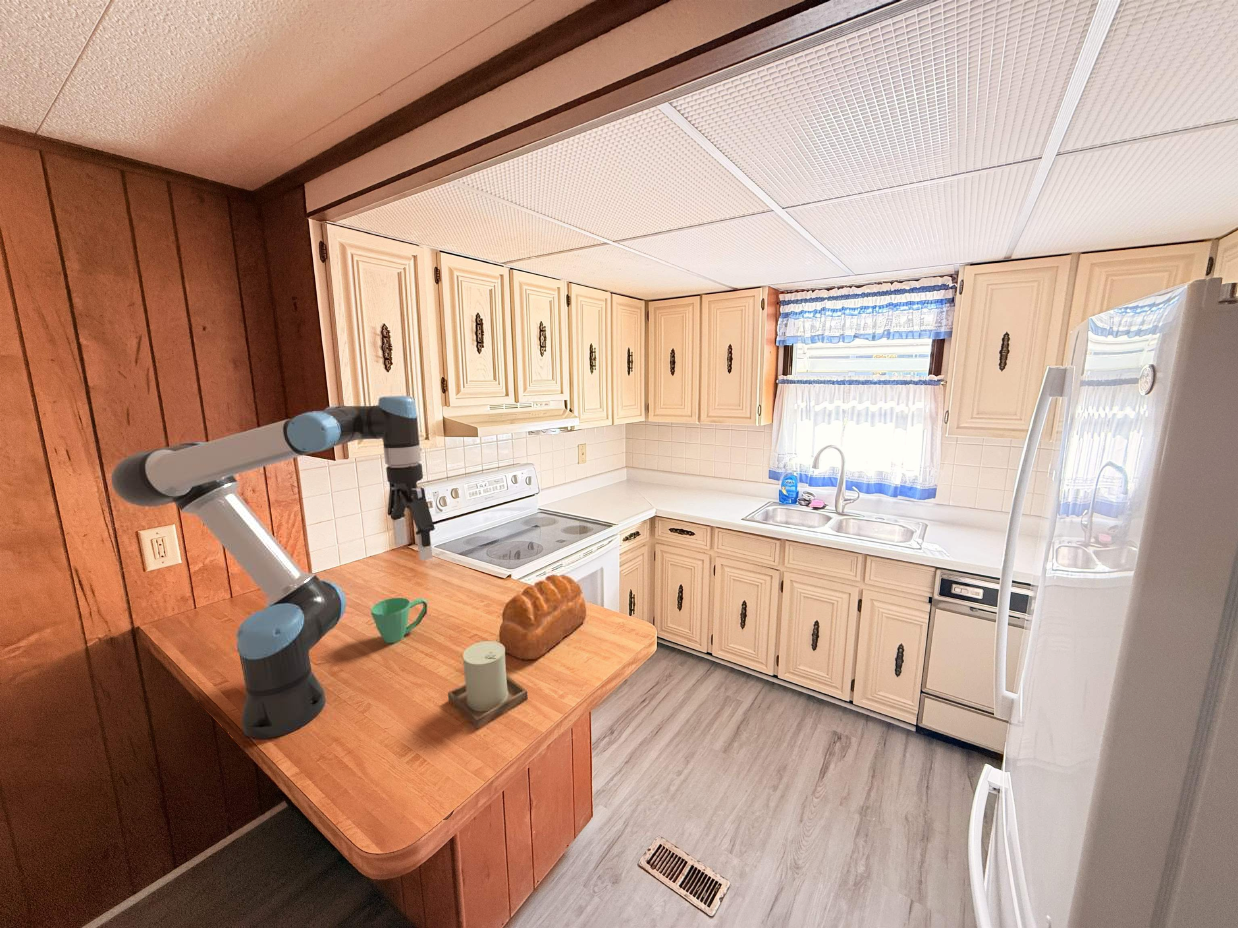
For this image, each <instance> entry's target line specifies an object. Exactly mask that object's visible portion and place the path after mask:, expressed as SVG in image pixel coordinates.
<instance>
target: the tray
mask: <svg viewBox="0 0 1238 928" xmlns="http://www.w3.org/2000/svg"><path fill="white" fill-rule="evenodd" d="M506 680H507V690H508V697H507V700H506V701H505V702H503V703H502V704H500V705H498V706H497V707H495V708H493V709H491V710H490V711H484V712H479V711H474V710H472V709H470V708H469V707H468V706H467V703H466V699H467V694H466V683H464V684H463V685H460V686H458V687H456V688H455V689H453V690H451V691H449V692H447V697H448V698H447V700H448V702H449V703H450V704H452V706H453V707H454V708H455V709H456V710H457V711H458V712H460V714H462V716H463V717H465V718H466V720H468V722H470V723H471V724H472V725H473V726H474V727H475V728H476V729H478V730H479V728H482V727H484V726H485V725H486V724H489V723H490V722H492V721H493V720H495V719H496V718H498V717H500V716H502V715H504V714H505V713H507V712H508V711H510V710H511V709H513V708H515V707H518V705H520V704H522V703H523V702H525V701H527V700H528V690H527V689H526V688H524V687H523V686H522V685H520V684H519V683H518V682H516V681H515V680H514V679H512V677H511V676H508V674H506Z"/></svg>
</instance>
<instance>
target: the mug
mask: <svg viewBox="0 0 1238 928" xmlns="http://www.w3.org/2000/svg"><path fill="white" fill-rule="evenodd" d="M420 604H422V609H421V611H420V612H419V614H418V616H417V617H416V619H415V620H414V621H413V622H411V623H410V624H409V625H408V623H409V618H410V617H409V615H410V609H412V608H413V607H416V606H418V605H420ZM370 612H371V617H372V618H373V621H374V623H375V627H376V630H377V631H378V633H379V635H380V637H381V638H382V639H383V640H384V642H385V643H387V644H395V643H398V642H400V641H402V640H403V639H404V637H405V635H406V634H408V633H409V632H410V631H412V630H413V629H414V628H416V627H418V626H419V625H420V623H421V621H423V619H424V618H425V616H426V614H427V613H428V600H426V599H424V598H423V597H419V598H416V599H414V600H412V601H410V600H409V599H408V598H404V597H392V598H387V599H384V600H380V601H379V602H377V603H375V604H374V605H372V606H371V608H370Z"/></svg>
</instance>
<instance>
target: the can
mask: <svg viewBox="0 0 1238 928" xmlns="http://www.w3.org/2000/svg"><path fill="white" fill-rule="evenodd" d="M462 660H463V671H464V680H465V684H466V694H467V699H466V703H467V706H468V707H469V708H470V709H472V710H474V711H479V712H484V711H490V710H491V709H493V708H495V707H497V706H498V705H500V704H502V703H503V702H505V701H506V700H507V697H508V690H507V680H506V675H507V670H506V652H505V647H504V646H503V645H502V644H501V643H499V641H494V640H486V641H485V640H484V641H479V642H476V643H474V644H472V645H470V646H469V647H467V648H466V649H465V650H464V651H463V654H462Z"/></svg>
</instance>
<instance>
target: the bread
mask: <svg viewBox="0 0 1238 928" xmlns="http://www.w3.org/2000/svg"><path fill="white" fill-rule="evenodd" d="M580 586H581V585H580V584H579V583H578V582H577V581H576V580H574V579H573V578H572V577H570V576H567V575H565V574H560V575H557V574H550V575H548V576H546V577H545V578H544V579H543V580H538V581H537V582H535V583H534V584H533V585H532V586H531V585H530V586H527V587H526V588H525V589H524V590H522V592H521V594H519V593H518V594H516V595H514V596H513V597H511V599H509V600H508V601H507V602H506V604H505V606H504V608H503V610H502V614H501V616H502V617H501V618H502V621H501V623H500V625H499V630H498V631H499V633H498V637H499V641H498V642H499V643H501V644H502V645H503V646H504V647H505V653H507V654H509V655H511V656H513V657H515V658H517V659H521V660H526V661H527V660H535V659H538V658H540V657H542V655H545V654H546V653H547V652H548V651H549V650H550V649H551V648H553V647H555V646H556V645H557V644H558V643H560V642H561V641H562V640H563V638H564V637H567V636H569V635H570V634H571V633H573V632H574V631H575V630H576V629H577V628H578V627H579V626H580V625H581V624H582V623H584V621H585V620H586V618H587V608H586V602H585V598H584V596H583V590H582V588H581V587H580Z"/></svg>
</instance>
